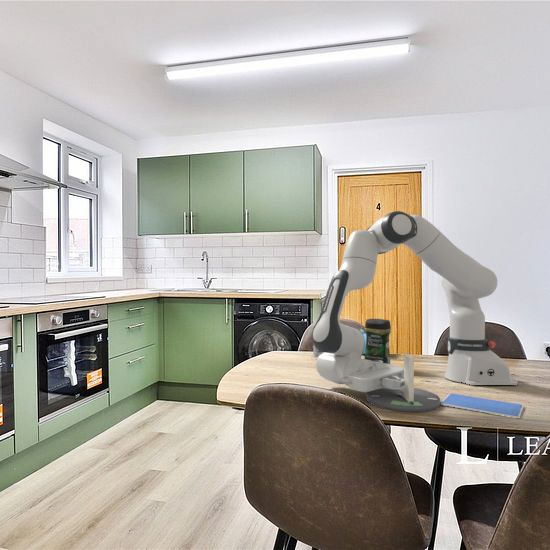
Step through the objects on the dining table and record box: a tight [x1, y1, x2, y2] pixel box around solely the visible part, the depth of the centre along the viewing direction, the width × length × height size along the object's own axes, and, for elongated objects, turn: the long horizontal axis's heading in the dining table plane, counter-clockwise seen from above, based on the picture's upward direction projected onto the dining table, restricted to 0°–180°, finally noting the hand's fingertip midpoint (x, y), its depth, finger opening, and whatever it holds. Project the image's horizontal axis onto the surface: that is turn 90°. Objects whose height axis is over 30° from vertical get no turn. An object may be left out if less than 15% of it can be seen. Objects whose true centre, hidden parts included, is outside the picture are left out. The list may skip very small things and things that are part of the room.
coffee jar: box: [363, 318, 392, 364], centre depth 168 cm, size 10×8×19 cm
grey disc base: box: [366, 386, 441, 413], centre depth 124 cm, size 20×20×2 cm
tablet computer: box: [440, 393, 525, 418], centre depth 119 cm, size 19×13×1 cm, turn 55°
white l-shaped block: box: [395, 353, 415, 404], centre depth 120 cm, size 12×4×12 cm, turn 179°
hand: (402, 383), depth 117 cm, fingers closed
